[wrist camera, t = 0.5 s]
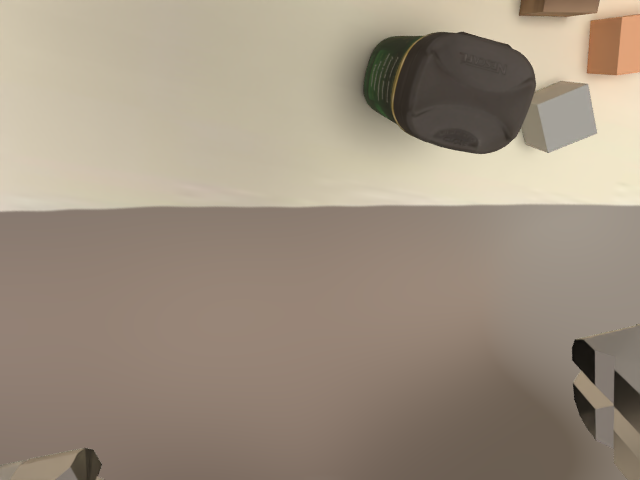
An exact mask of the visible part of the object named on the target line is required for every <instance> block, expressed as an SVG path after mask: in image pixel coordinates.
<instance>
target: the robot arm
mask: <svg viewBox="0 0 640 480" xmlns="http://www.w3.org/2000/svg"><path fill="white" fill-rule="evenodd" d="M572 361H573V362H574V363H575V364H576V365H577V366H578V367H579V369H580V370H581V371H580V373H579V374H578V376H577V377H576V379H575V380H574V382H573V391H574V400H575V403H576V406H577V409H578V412H579V415H580V417H581V419H582V421H583V423H584V424H585V426H586V428H587V429H588V431H589V432H590V433H591V435H592V436H593V437H594V439H595V440H596V441H598V442H600V443H602V444H605V445H606V446H609V447H611V448H613V449H614V464H615V465H616V466H617V468H618V469H619V470H620V471H621V473H622V474H623V475H624V476H625V478H626V479H627V480H640V324H636V326H631V327H627V328H622V329H618V330H614V331H609V332H605V333H600V334H596V335H592V336H587V337H583V338H579V339H575V340H574V343H573V346H572ZM101 466H102V464H101V462H100V460H99V458H98V456H97V455H96V453H95V452H94V450H92V449H88V448H82V449H77V450H72V451H66V452H61V453H57V454H51V455H46V456H41V457H36V458H31V459H28V460H23V461H18V462H13V463H8V464H4V465H0V480H104V479H103V478H101V477H99V476H98V475H99V472H100V469H101Z"/></svg>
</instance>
